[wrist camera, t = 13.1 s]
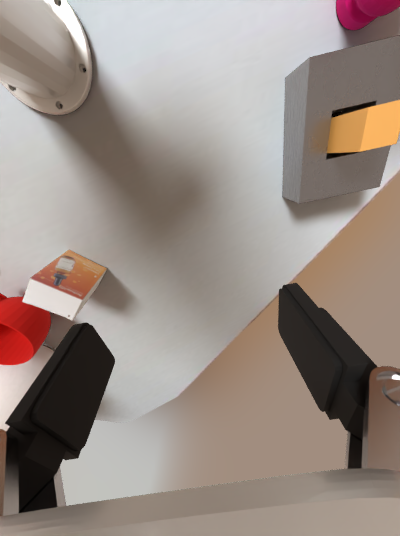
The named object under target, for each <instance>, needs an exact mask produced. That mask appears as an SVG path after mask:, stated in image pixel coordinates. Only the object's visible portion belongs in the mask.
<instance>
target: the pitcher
mask: <svg viewBox="0 0 400 536" xmlns="http://www.w3.org/2000/svg"><path fill="white" fill-rule="evenodd" d="M53 353H54V351H53V350H51V349H50V348H48V347H46V346H43V345H41V346H40V348H39V349H38V351H37V352H36V354H35V355H34V356H33V357H32V358H31V359H30V360H29V361H27V362H25V363H22V364H18V365H0V429H3V430H5V431H7V430H8V428H9V427H10V426H8V425H7V424H5V422H6V421H7V419H8V418H9V416H10V415H11V414H12V412H13V411H14V409H15V408H16V406H17V405H18V404H19V402H20V401H21V399H22V398H23V396H24V395H25V393H26V392H27V391H28V389H29V388H30V386H31V385H32V383H33V382H34V380H35V379H36V378H37V376H38V375H39V373H40V372H41V370H42V369H43V367H44V366H45V365H46V363H47V362H48V360H49V359H50V357H51V356H52V354H53Z"/></svg>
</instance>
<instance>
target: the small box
mask: <svg viewBox="0 0 400 536" xmlns="http://www.w3.org/2000/svg"><path fill="white" fill-rule="evenodd" d="M106 270H107V268H105V267H103V266H101V265H98V264H96V263H94V262H92V261H90V260H88V259H86V258H84V257H82V256H80V255H78V254H76V253H74V252H73V251H71V250H67V251H66V252H65V253H63V254H62V255H61V256H59V257H58V258H57V259H55V260H54V261H53V262H51V263H50V264H48V265H47V266H46V267H45V268H43V269H42V270H40V271H39V272H38V273H36V274H35V275H34V276H32V277H31V278H30V281H29V284H28V286H27V289H26V292H25V295H24V298H23V301H22V302H24V303H27V304H31V305H34V306H36V307H39V308H42V309H44V310H47V311H50V312H52V313H55V314H57V315H60V316H63V317H65V318H67V319H70V320H74V318H75V317H76V316H77V314H78V313H79V312H80V310H81V309H82V307H83V306H84V305H85V303H86V302H87V300H88V299H89V298H90V296H91V295H92V294H93V292H94V291H95V290H96V288H97V287H98V285H99V283H100V281H101V280H102V278H103V276H104V274H105V272H106Z"/></svg>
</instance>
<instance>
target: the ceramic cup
mask: <svg viewBox="0 0 400 536" xmlns="http://www.w3.org/2000/svg"><path fill="white" fill-rule="evenodd" d="M23 298H24V297H10V298H7V297H6V296H4V295H2V294H1V293H0V365H18V364H22V363H25V362H27V361H29V360H30V359H31V358H32V357H33V356H34V355H35V354H36V352H37V351H38V349H39V348H40V346H41V345H42V343H43V342H44V340H45V338H46V337H47V334H48V332H49V329H50V325H51V317H50V313H49V311H47V310H44V309H42V308H39V307H36V306H34V305H31V304H27V303H24V302H22V301H23Z"/></svg>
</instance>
